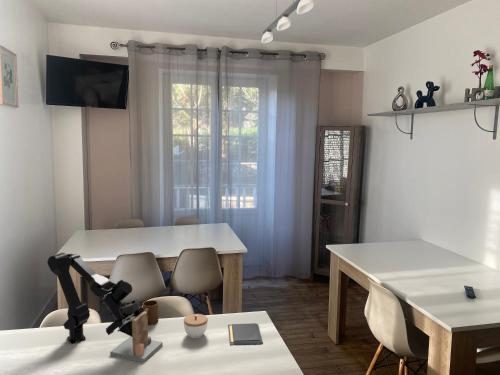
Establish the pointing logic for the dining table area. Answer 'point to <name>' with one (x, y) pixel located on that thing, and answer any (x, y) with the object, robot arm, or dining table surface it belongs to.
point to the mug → (151, 311)
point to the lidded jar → (195, 325)
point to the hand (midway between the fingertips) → (137, 336)
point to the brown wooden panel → (140, 330)
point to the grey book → (244, 334)
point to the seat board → (129, 350)
